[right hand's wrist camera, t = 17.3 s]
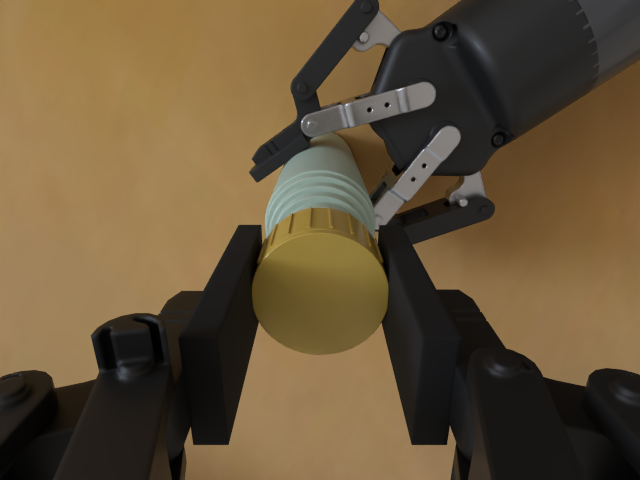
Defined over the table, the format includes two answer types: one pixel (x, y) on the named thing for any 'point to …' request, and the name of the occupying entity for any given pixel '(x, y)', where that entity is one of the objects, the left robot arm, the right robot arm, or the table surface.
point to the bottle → (321, 183)
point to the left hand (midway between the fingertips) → (284, 211)
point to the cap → (320, 282)
